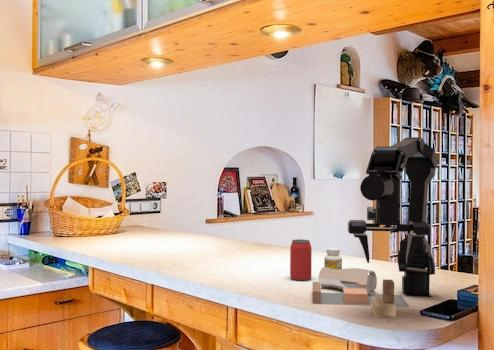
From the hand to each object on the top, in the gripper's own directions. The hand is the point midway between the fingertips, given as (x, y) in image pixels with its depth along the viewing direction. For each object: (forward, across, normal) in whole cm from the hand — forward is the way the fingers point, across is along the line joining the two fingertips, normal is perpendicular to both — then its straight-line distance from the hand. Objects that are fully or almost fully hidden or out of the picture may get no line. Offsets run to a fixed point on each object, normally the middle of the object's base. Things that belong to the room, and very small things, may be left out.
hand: (387, 263), depth 127 cm
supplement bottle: (+12, +12, -36) cm, 39 cm away
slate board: (+12, +6, -11) cm, 17 cm away
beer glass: (+9, +15, -25) cm, 30 cm away
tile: (+12, +7, -10) cm, 17 cm away
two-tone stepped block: (+12, +1, 0) cm, 12 cm away
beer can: (+12, +22, -36) cm, 43 cm away
